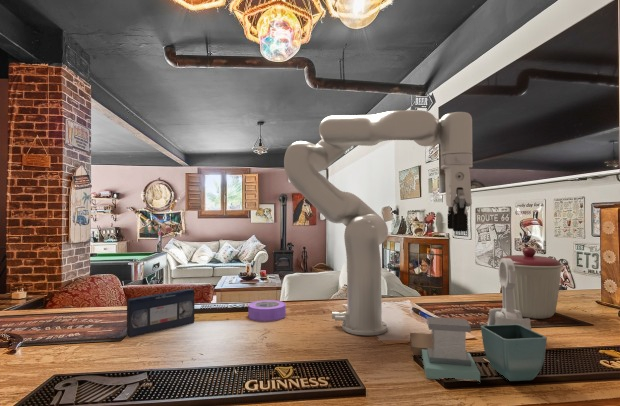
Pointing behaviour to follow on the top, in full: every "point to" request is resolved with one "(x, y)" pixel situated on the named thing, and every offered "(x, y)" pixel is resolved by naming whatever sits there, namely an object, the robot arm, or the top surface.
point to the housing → (448, 341)
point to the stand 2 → (449, 369)
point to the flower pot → (514, 350)
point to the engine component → (507, 298)
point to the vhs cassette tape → (160, 312)
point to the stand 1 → (420, 342)
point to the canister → (535, 284)
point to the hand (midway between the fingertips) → (456, 229)
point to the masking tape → (266, 310)
